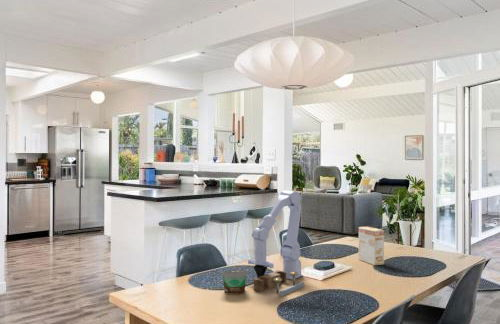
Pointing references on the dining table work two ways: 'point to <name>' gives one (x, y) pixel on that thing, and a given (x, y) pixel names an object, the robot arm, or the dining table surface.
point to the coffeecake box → (371, 245)
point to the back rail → (291, 288)
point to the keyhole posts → (281, 280)
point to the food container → (234, 281)
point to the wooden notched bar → (268, 280)
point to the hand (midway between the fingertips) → (260, 280)
